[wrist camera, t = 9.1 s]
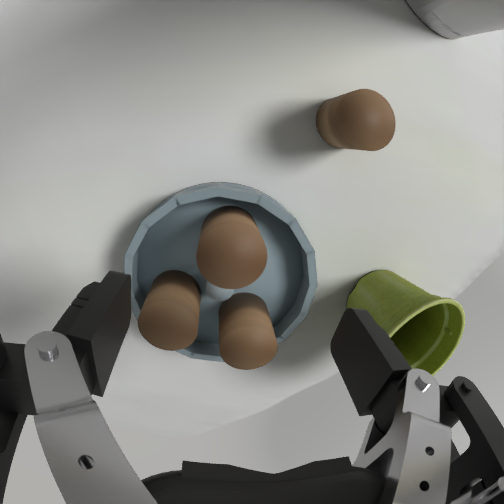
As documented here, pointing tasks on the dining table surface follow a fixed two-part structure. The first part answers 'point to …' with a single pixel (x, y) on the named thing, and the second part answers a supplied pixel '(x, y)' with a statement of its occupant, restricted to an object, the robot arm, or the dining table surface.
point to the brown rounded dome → (231, 248)
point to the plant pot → (411, 318)
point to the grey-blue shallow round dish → (184, 259)
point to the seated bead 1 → (171, 311)
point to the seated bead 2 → (246, 332)
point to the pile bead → (356, 121)
